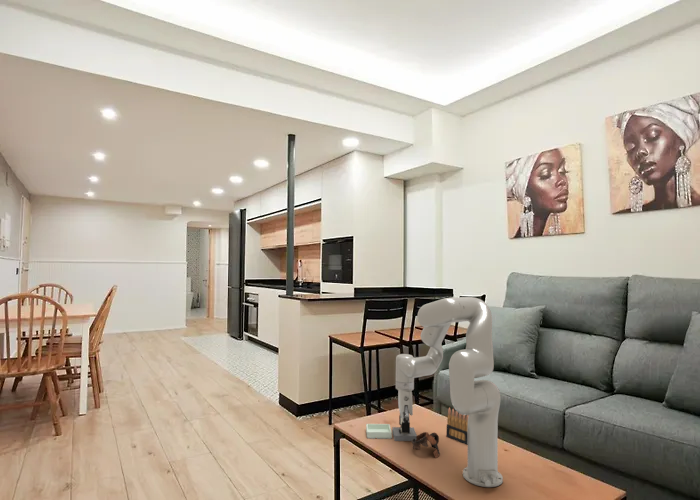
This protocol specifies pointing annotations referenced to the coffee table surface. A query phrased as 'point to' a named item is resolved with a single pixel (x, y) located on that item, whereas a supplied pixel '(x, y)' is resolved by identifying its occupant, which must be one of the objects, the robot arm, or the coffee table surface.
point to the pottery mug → (422, 440)
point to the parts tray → (378, 431)
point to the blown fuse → (401, 425)
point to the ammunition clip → (457, 427)
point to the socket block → (403, 437)
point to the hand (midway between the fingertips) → (404, 428)
